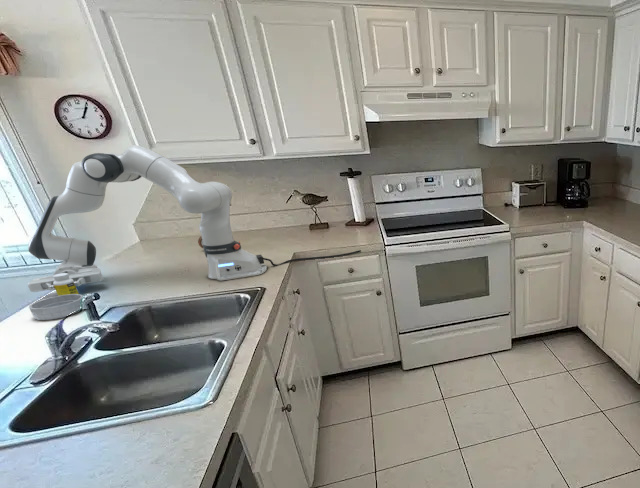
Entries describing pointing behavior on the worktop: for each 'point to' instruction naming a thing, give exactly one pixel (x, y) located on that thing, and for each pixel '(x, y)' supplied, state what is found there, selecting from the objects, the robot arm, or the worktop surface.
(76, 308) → the grey shallow bowl
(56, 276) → the supplement bottle
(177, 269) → the worktop surface
